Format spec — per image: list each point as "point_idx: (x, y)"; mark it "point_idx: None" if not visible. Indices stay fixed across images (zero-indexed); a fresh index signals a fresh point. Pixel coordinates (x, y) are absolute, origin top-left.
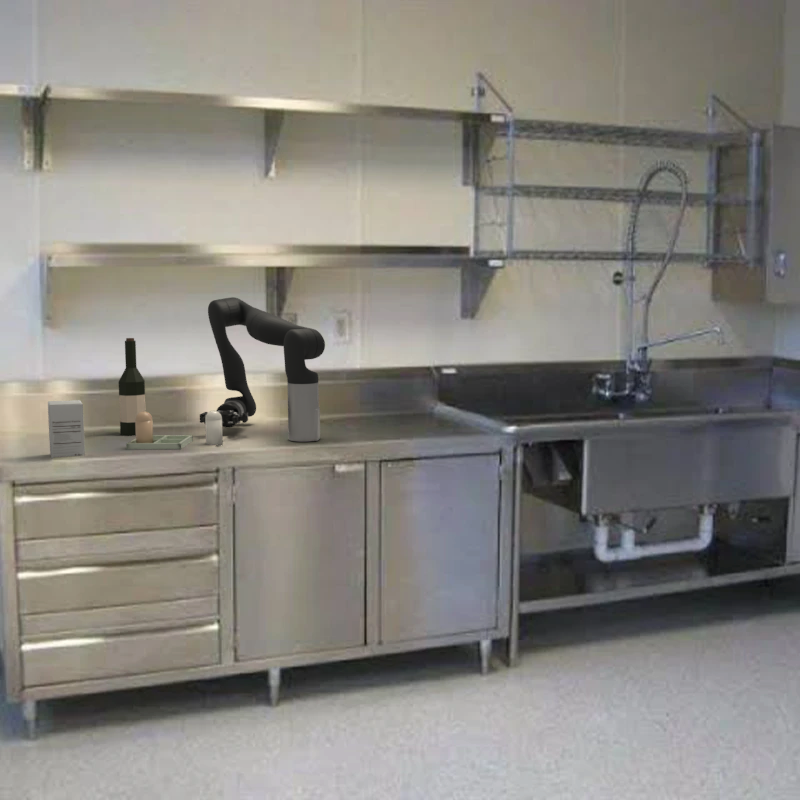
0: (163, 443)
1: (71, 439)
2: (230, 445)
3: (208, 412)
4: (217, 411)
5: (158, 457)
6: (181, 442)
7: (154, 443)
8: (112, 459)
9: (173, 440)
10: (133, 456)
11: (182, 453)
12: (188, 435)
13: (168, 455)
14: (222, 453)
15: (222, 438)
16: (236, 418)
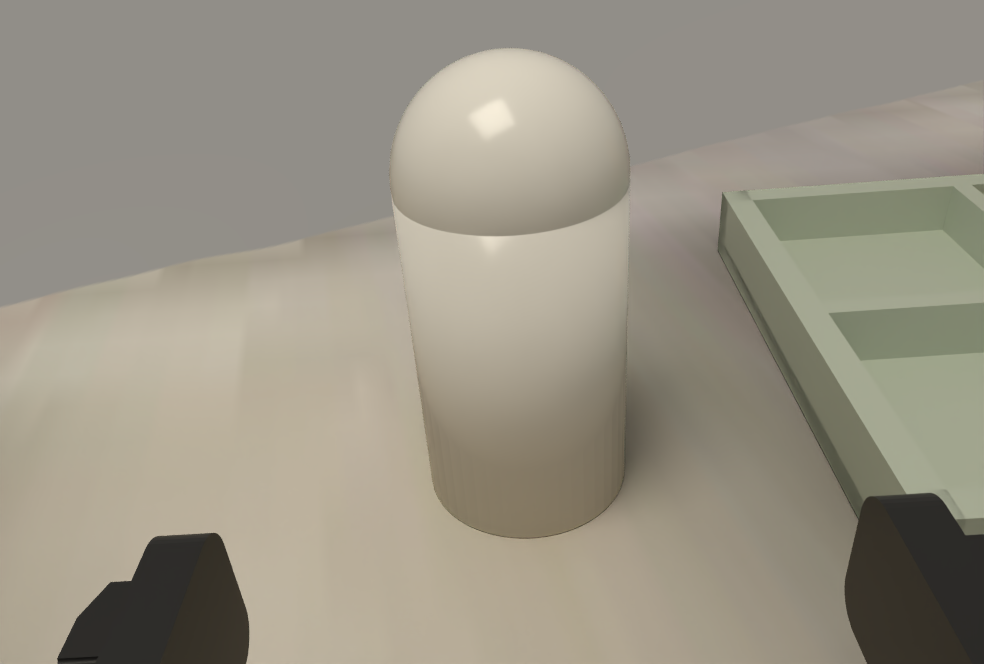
0: (866, 182)
1: None
2: (339, 469)
3: (571, 65)
4: (442, 76)
5: (748, 144)
6: (742, 215)
7: (943, 177)
8: (975, 104)
9: (932, 303)
10: (927, 145)
11: (663, 212)
12: (977, 501)
13: (722, 175)
14: (377, 232)
15: (423, 419)
16: (124, 588)
